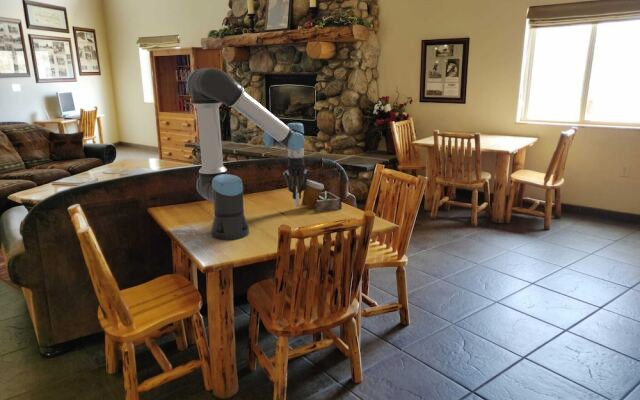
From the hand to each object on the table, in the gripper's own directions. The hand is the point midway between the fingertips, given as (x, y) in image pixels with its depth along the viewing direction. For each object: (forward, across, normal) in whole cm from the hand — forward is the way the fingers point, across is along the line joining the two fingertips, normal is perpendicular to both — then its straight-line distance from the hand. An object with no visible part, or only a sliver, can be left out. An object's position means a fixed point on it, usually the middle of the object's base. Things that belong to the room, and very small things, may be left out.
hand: (296, 205), depth 216 cm
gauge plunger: (+2, +14, 0) cm, 14 cm away
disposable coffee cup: (+1, +6, 0) cm, 6 cm away
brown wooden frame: (+2, +14, 0) cm, 15 cm away
